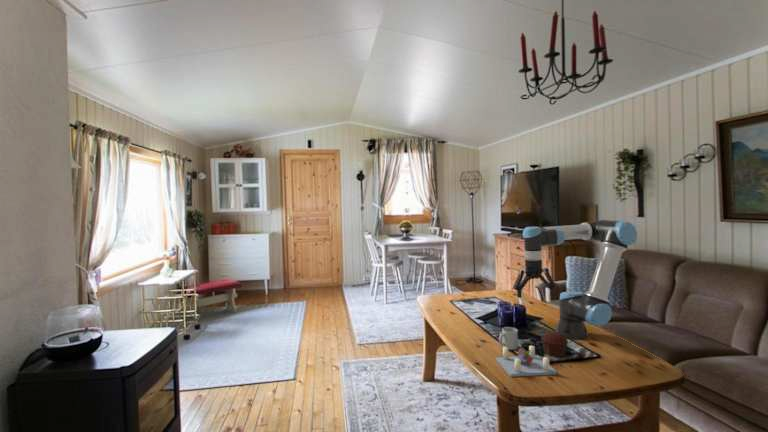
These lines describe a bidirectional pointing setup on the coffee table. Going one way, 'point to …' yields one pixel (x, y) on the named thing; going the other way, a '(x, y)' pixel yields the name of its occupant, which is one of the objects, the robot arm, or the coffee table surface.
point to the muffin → (554, 344)
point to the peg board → (525, 365)
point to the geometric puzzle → (525, 356)
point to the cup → (509, 338)
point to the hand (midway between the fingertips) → (534, 302)
